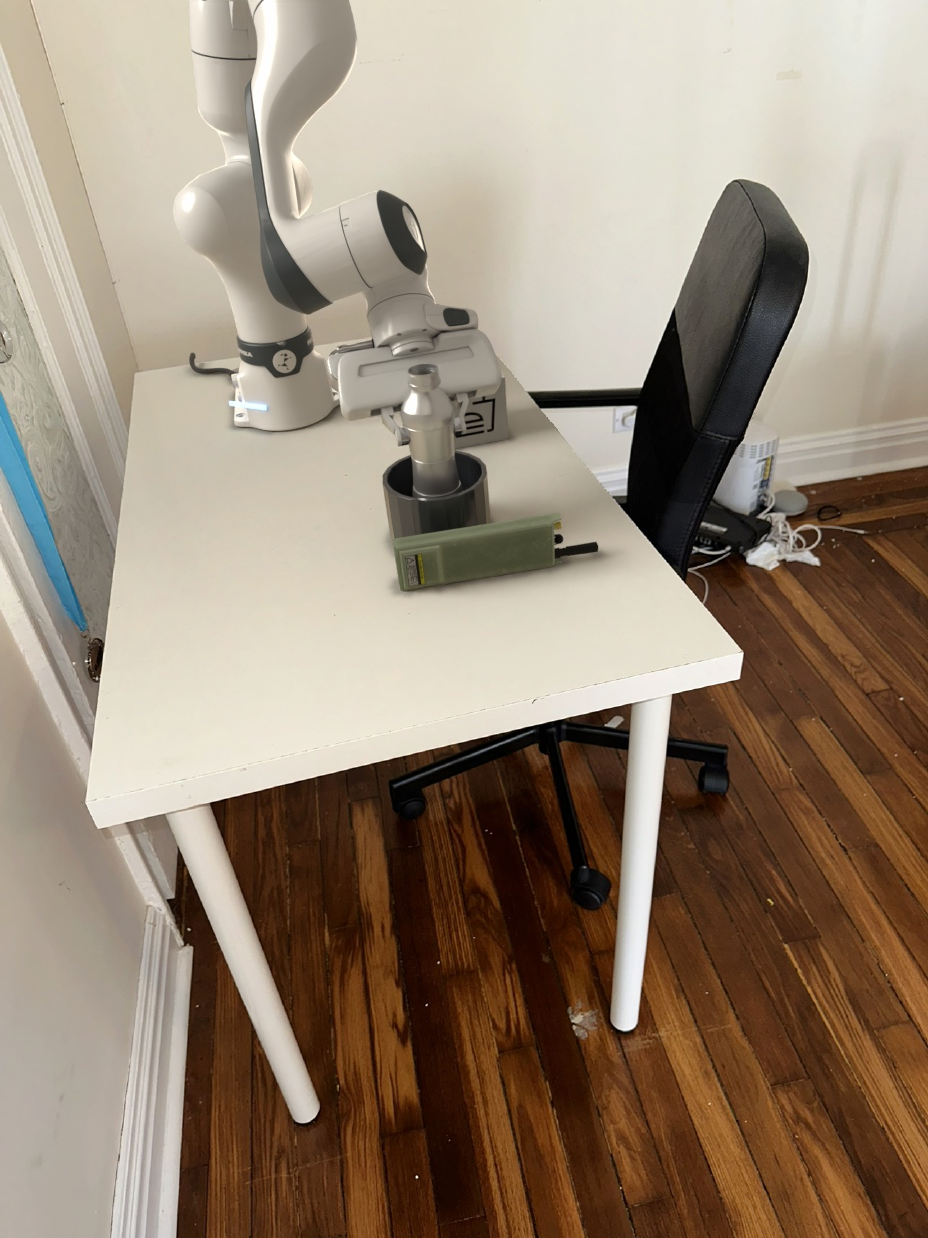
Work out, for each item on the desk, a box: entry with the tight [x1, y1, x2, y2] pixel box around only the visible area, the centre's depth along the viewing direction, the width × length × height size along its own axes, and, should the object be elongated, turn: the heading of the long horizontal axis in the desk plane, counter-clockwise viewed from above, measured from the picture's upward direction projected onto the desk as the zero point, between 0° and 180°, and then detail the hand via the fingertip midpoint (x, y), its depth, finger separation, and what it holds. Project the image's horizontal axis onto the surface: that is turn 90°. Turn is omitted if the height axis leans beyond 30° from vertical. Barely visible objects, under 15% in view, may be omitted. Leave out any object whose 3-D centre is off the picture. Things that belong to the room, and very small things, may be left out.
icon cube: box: [452, 372, 509, 450], centre depth 142 cm, size 10×10×10 cm
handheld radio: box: [392, 512, 599, 592], centre depth 111 cm, size 7×3×25 cm
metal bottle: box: [399, 364, 463, 499], centre depth 113 cm, size 6×7×20 cm
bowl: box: [381, 449, 492, 545], centre depth 118 cm, size 13×13×9 cm
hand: (432, 438), depth 112 cm, fingers closed on metal bottle, 6 cm apart
